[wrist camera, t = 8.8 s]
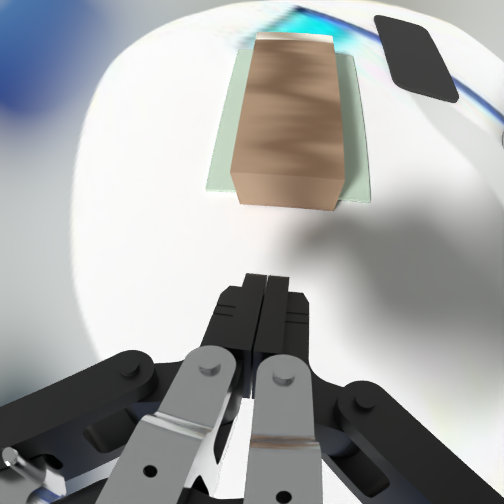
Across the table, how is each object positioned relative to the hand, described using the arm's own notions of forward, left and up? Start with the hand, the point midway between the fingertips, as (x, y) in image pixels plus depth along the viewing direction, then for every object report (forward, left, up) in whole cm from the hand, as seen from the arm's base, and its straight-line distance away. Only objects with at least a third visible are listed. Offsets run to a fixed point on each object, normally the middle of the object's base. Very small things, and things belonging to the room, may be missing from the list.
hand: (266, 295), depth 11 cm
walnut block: (-2, -6, -5) cm, 8 cm away
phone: (-22, -21, -8) cm, 31 cm away
